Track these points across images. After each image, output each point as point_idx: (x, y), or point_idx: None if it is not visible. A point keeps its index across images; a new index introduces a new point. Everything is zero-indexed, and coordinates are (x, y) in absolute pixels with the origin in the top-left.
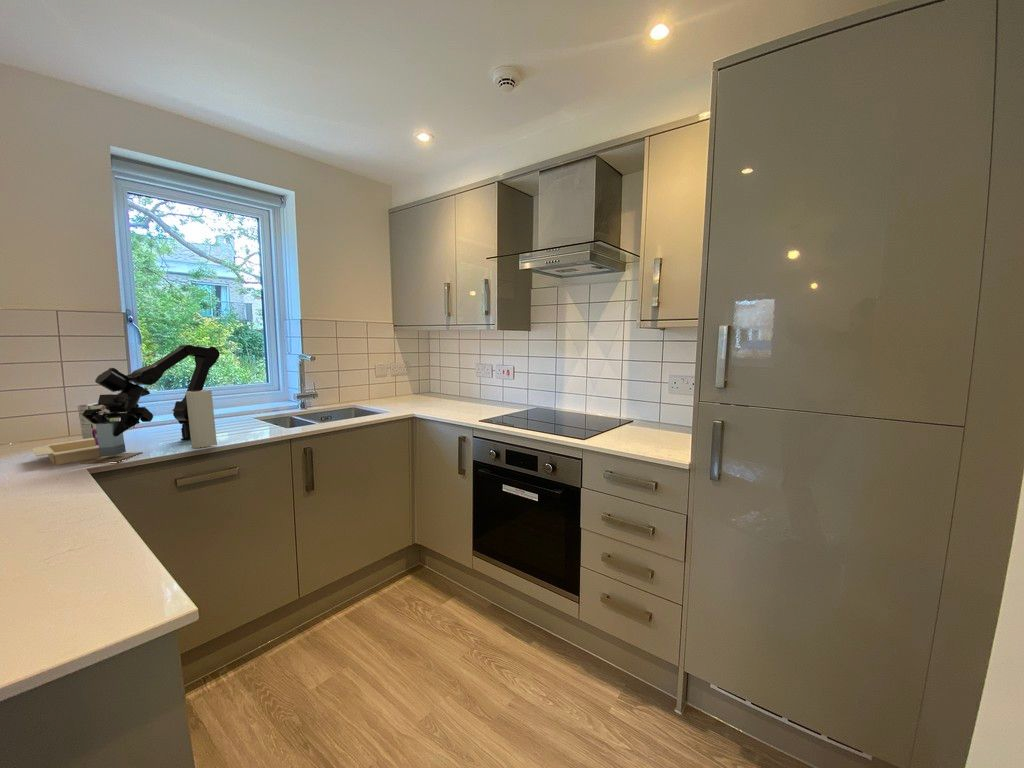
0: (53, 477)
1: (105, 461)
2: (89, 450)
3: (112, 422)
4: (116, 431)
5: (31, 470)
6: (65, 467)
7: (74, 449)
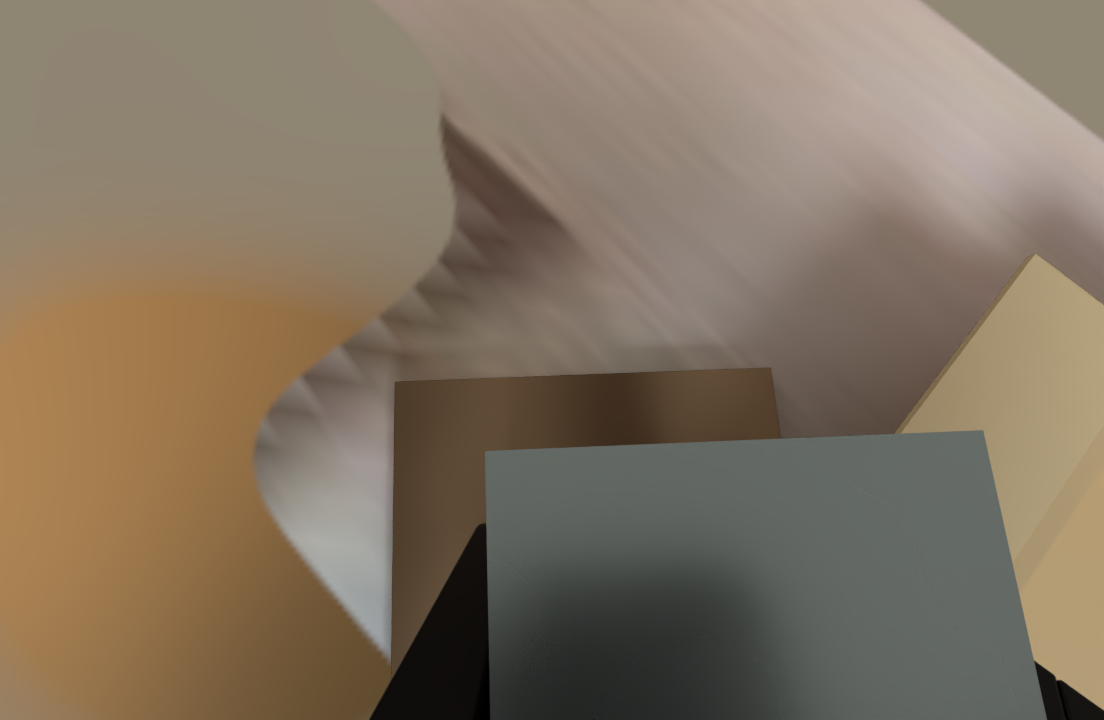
0: (646, 35)
1: (531, 385)
2: None
3: (595, 683)
4: (463, 574)
5: (1091, 274)
6: (854, 324)
7: (1070, 515)
